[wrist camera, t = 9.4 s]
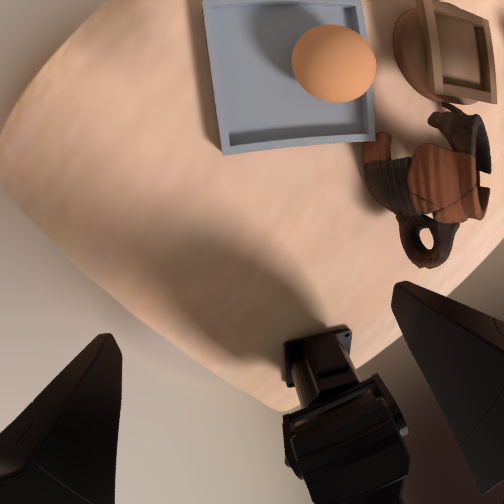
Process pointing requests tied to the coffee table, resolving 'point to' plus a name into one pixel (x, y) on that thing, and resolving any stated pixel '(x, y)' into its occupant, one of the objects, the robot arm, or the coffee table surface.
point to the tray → (277, 75)
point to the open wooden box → (446, 53)
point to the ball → (333, 63)
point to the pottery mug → (432, 183)
